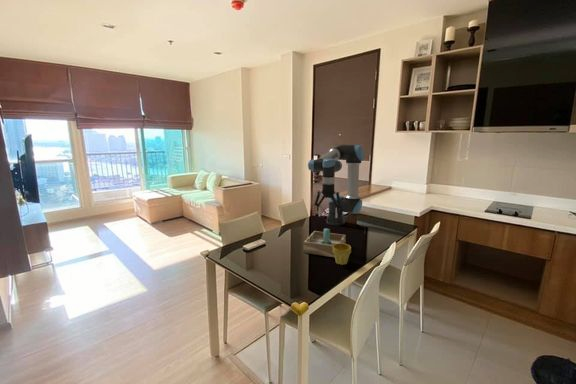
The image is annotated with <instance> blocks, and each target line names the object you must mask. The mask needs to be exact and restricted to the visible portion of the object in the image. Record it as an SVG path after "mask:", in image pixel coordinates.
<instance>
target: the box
mask: <svg viewBox="0 0 576 384" xmlns="http://www.w3.org/2000/svg"><path fill="white" fill-rule="evenodd" d="M346 236H347V235H346V234H342V233H341V234H340V233H332V232H330V245H329V244H323V242H324V231H319V230H318V231H317V230H314V231H313V232H311V234H310V235H308V236H307V238H306V239H305V240H304V241H303V253H306V254H311V255H317V256H324V257H330V258H335V256H334V253H333V245H334V244H338V243H343V244H346V241H347V240H346Z"/></svg>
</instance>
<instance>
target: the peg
mask: <svg viewBox="0 0 576 384" xmlns="http://www.w3.org/2000/svg"><path fill="white" fill-rule="evenodd" d="M323 232H324V242H323V244H329V245H330V233H331V229H330V228H323Z"/></svg>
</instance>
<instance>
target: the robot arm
mask: <svg viewBox="0 0 576 384" xmlns="http://www.w3.org/2000/svg"><path fill="white" fill-rule="evenodd" d="M364 151H365V150H364V147H363V146H362V145H361V144H360V145H358V144H341V145H338V146H334V147H332V148H331V149H329V151H328V152H326V153H325V154H324V155H322V156H319V157H318V158H316V159H310V160H309V161H308V163H307V168H308V170H309V171H311V172H322V187H321V188H322V190H317V196H316V199H315V201H314V206H316V208H317V209H316V211H317V212H318V217H321V214H322V206H321V204H322V203H323V201H324V199H325V198H326V199H327V198H328V215H327V218H326V224H327V225H331V226H336V227H337V226H343V225H345V221H346V220H345V218H344V213H348V214H353V215H354V214H355V215H356V214H359V213H360V212H361V210H362V206H363V200H362V199H361V196H360V195H359V184H360V183H359V179H360V178H359V177H360V176H359V175H360V165H361V164H362V162H363V161H364V159H365V152H364ZM341 161H345V163H346V164H347V185H346V186H347V187H346V188H347V189H346V194H345V196H344V195H342V194H340V192H339V191H335V180H336V179H335V178H336V177H335V174H336V173H338V172H339V171H341V170H342V169H343V164H342V162H341ZM321 195H322V197H321ZM320 197H321V198H320Z"/></svg>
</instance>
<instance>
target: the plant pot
mask: <svg viewBox="0 0 576 384" xmlns="http://www.w3.org/2000/svg"><path fill="white" fill-rule="evenodd" d="M333 253H334V256H335V257H334V259H335V261H334V262H335V263H336V264H337V265H339V264H340V266H342V265H344V266H345V265H347V264H348V262H349V257H350V254H351V253H352V247H351V245H350V244H347V243H345V244H343V243H338V244H334V245H333Z"/></svg>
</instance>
